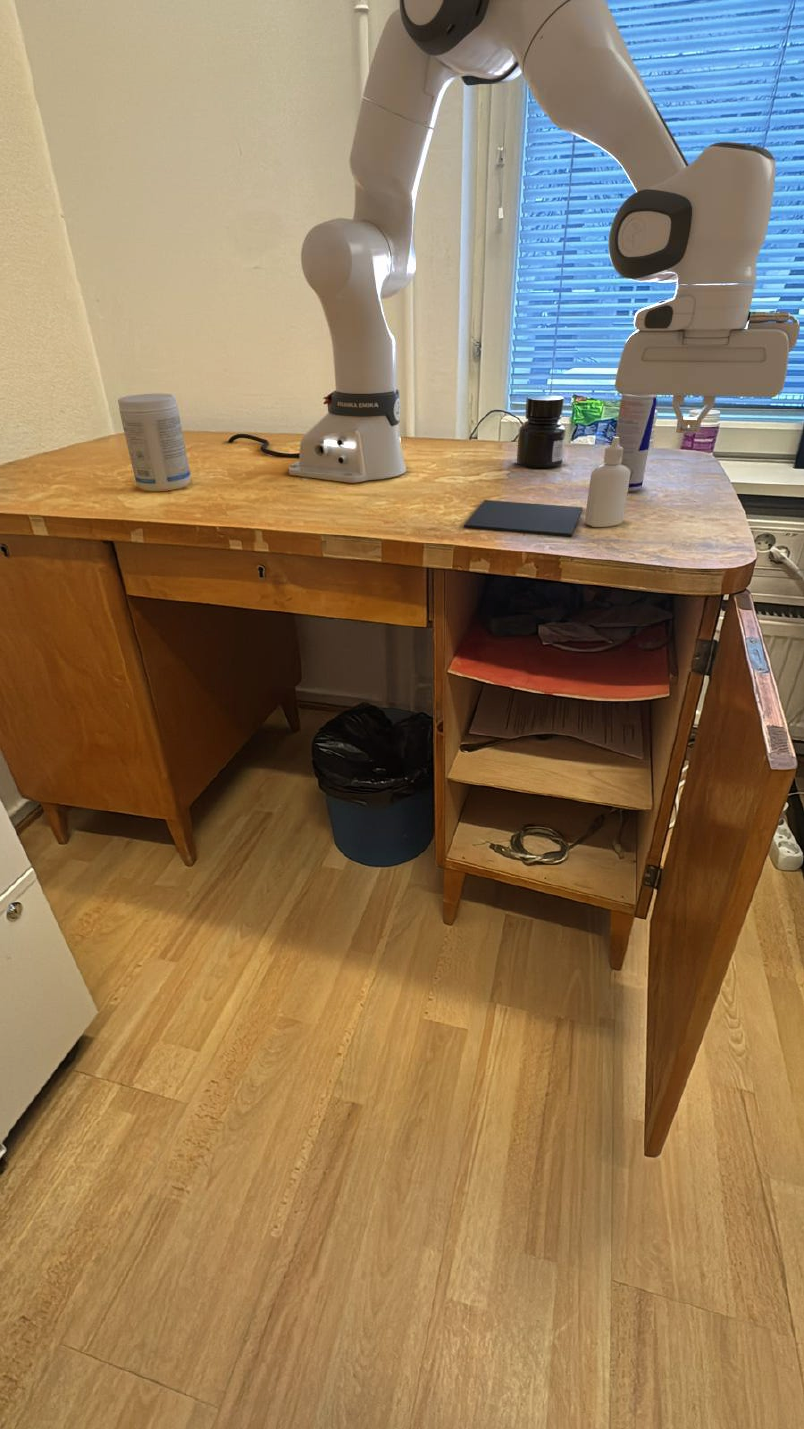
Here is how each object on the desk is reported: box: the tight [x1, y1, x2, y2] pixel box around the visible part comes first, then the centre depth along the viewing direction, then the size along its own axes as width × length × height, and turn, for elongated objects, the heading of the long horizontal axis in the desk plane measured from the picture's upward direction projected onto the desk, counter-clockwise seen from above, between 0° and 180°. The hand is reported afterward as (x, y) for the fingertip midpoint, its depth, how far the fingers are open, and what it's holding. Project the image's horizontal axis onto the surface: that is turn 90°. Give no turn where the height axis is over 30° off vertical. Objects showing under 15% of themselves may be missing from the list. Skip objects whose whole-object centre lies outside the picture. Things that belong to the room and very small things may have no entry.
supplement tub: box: [117, 393, 192, 492], centre depth 119 cm, size 10×10×15 cm
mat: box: [463, 499, 583, 538], centre depth 103 cm, size 16×14×1 cm
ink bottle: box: [516, 394, 566, 469], centre depth 131 cm, size 10×9×12 cm
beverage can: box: [614, 394, 658, 493], centre depth 114 cm, size 6×6×15 cm
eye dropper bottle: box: [584, 436, 630, 528], centre depth 98 cm, size 4×6×12 cm
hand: (687, 432), depth 91 cm, fingers closed
